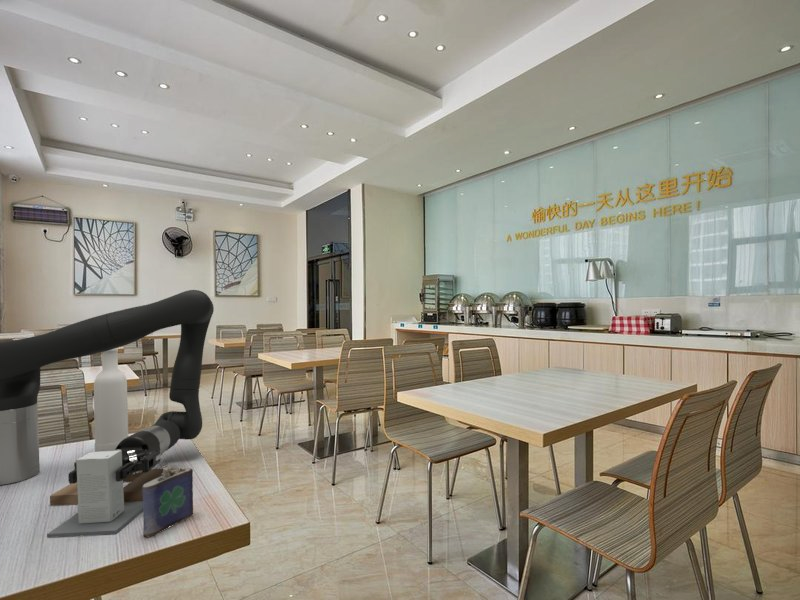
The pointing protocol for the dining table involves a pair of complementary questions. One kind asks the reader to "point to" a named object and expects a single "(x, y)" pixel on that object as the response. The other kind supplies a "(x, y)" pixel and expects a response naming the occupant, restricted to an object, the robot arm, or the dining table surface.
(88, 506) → the skincare box
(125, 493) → the brown slab with opening
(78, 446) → the dining table surface
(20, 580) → the dining table surface
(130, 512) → the slate mat
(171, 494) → the flask
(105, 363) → the bottle
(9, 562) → the dining table surface
